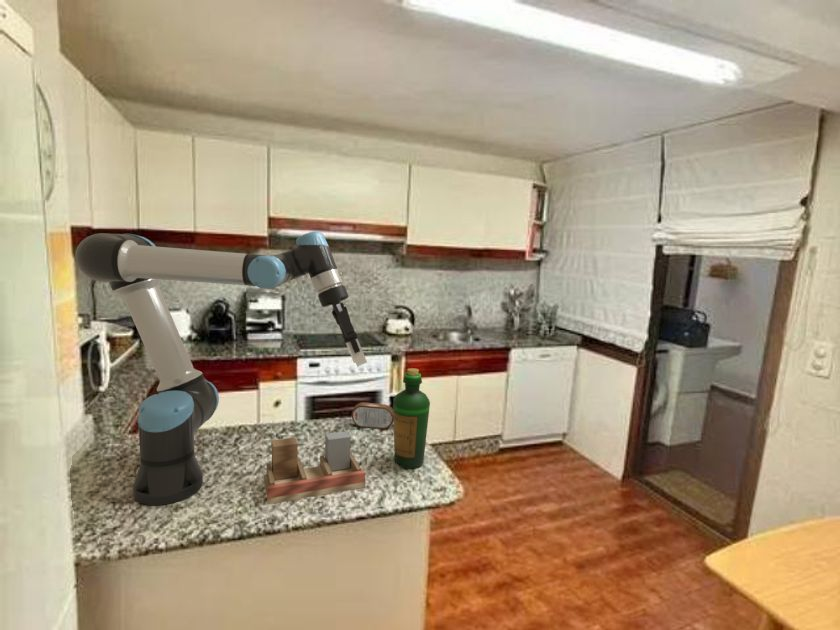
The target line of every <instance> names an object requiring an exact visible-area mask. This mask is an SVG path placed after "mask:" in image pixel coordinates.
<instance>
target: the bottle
mask: <svg viewBox="0 0 840 630" xmlns="http://www.w3.org/2000/svg"><path fill="white" fill-rule="evenodd" d="M419 371H420V369H418V368H413V367H411V368H407V372H405V373H404V375H403V379H402V382H403V384H404V389H403V390H402V391H400V392H399V393H397V394H396V395H395V397H394V398H393V403H392V404H393V410H394V422H393V446H394V449H393V450H394V452H393V455H394V456H393V457H394V464H396V465H397V466H398V467H400V468H403V469H415V468H418V467H421V466H422V465H423V463H424V460H425V450H426V443H427V442H426V441H427V433H428V424H429V416H430V405H431V400H430V399H429V397H428V395H427V394H426V393H424V392H423V391H422V390H420V387H421V384H423V380H422V374H421V373H419Z"/></svg>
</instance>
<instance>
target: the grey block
mask: <svg viewBox="0 0 840 630" xmlns="http://www.w3.org/2000/svg"><path fill="white" fill-rule="evenodd" d="M324 437H325V439H324V457H325V459H326V461H327V463H328V465H329V467H330V470H331V471H335V470H341V469H347V468H350V452H351V443H352V442H351V441H352V439H351V438H352V437H351V435H350V433H349V432H348V431H347V430H345V431H339V432H338V431H337V432H331V433H330V432H329V433H325V436H324Z"/></svg>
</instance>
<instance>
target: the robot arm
mask: <svg viewBox="0 0 840 630" xmlns="http://www.w3.org/2000/svg"><path fill="white" fill-rule="evenodd" d="M295 242H296V246H295V247H294V248H292V249H289V250H286V251H283V252H281V253H278V254H273V255H272V254H271V255H270V254H267V255H266V254H258V253H257V254H254V253H242V252H230V251H229V252H228V251H217V250H216V251H215V250H204V249H203V250H202V249H192V248H189V249H188V248H180V247H165V246H156V245H155V243H154V242H152V241H151V240H150V239H148V238H146V237H144V236H141V235H137V234H132V233H121V234H120V233H109V232H107V233H105V232H104V233H103V232H101V233H99V232H98V233H95V234H92V235H89V236H86V237H85V238H84V239H83V240H82V241H80V242H79V244H78V246H77V248H76V250H75V256H74V257H75V263H76V265H77V267H78V269H79V270H80V271H81V273H83V275H85V276H86V277H88V278H89V279H90V280H94V281H96V282H100V283H109V285H110V288H111V290H112V292H113V294H116V295H119V296H121V297H122V298H123V300H124V304H126V308H127V309H128V312H129V314H130V316H131V319H132V320H133V323H134V325H135V327H136V330H137V332H138V334H139V336H140V339H141V342H142V344H143V346H144V348H145V350H146V352H147V355H148V357H149V359H150V361H151V364H152V366H153V369H154V370H155V373H156V375H157V378H158V380H159V384H158V386H157V388H156V392H157V393H155V394H152V395H150V396H148V397H146V398H145V399H144V400H143V401H142V402H141V403H140V405H139V407H138V415H137V424H138V438H139V439H138V440H139V441H138V442H139V456H140V457H139V459H140V465H139V468H138V471H137V474H136V477H135V480H134V482H133V487H132V494H133V499H134V501H136V502H137V503H139V504H141V505H147V506H160V505H169V504H172V503H177V502H180V501H182V500H186V499H187V498H190V497H192V496H193V495H195V494H196V493H197V492H198V491H200V490H201V488H202V487H203V484H204V479H203V476H204V475H203V471H202V469H201V467H200V464H199V462H198V459H197V458H196V455H195V433H196V432H197V431H199V429H200V428H201V427H202V426H203V425H204V424H205V423H206V422H208V421H209V420H210V419H211V418H212V417H213V415H214V413H216V410H217V408H218V407H219V402H220V395H219V392H218V389H217V388H216V386H215V385H214V383H212V381H211V382H210V381H208V380H207V379H206V378H205V376H204V374H203V372H202V371H200V370H198V369H196V368H194V365H193V362H192V361H191V358H190V356H189V354H188V352H187V349H186V347H185V345H184V342H183V339H182V338H181V335H180V333H179V331H178V328H177V326H176V323H175V321H174V319H173V317H172V314H171V312H170V309H169V307H168V305H167V302H166V300H165V298H164V296H163V292H162V290H161V288H160V284H161V282H162V280H164V281H180V282H192V283H193V282H194V283H206V284H208V283H210V284H220V285H221V284H222V285H236V286H239V285H240V286H248V287H249V286H250V287H258V288H260V289H265V290H267V289H274V288H277V287H279V286H281V285H283V284H286V283H288V282H291V281H294V280H296V279H298V278H300V277H302V276H306V275H307V274H308V275H309V277H310V280H311V283H312V285H313V288H314V291H315V292H316V293H318V295H317V297H318V299H319V302H320V304H321V307H323V308H326V307H329V306H331V307H332V312H331V314H332V316H333V318H334V320H335V322H336V324H337V325H338V326H339V329H340V331H341V334H342V338H343V342H344V344H345V345H346V347H347V350H348V352H349V354H350V357H351V360H352V362H353V364H355V365H356V367H359V366H361V365H364V364H367V363H368V361H367V359H366V356H365V353H364V351H363V349H362V346H361V344H360V341H359V339H358V336H357V332H356V331H355V328H354V326H353V324H352V321H351V317H350V315H349V311H348V308H347V306H345V304H344V302H342V301H345V300H347V299H348V298H349V293H348V292H347V289H346V286H345V285H343V280H342V277H341V276H342V275H343V273H342V271H339V269H338V267H337V264H336V261H335V258H334V257H333V256H334V255H333V254H332V251H331V249H330V246H329V244H328V242H327V240H326V237H325V235H324V233H322V232H321V231H319V230H316V231H315V230H314V231H310V232H307V233H304V234H302V235H301V236H298V237H297V238H296V240H295Z"/></svg>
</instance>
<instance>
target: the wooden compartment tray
mask: <svg viewBox="0 0 840 630" xmlns="http://www.w3.org/2000/svg"><path fill="white" fill-rule="evenodd" d="M301 460H302V459H300V458H298V461H297V476H296V477H290V478H284V479H277V480H274V477H273V472H272V463H271V462H267V463H266V464H265V465H266V467H265V468H266V471H265V472H266V473H265V474H263V485H264V489H265V494H266V500H267V505H272V504H279V503H284V502H290V501H296V500H301V499H307V498H311V497H318V496H323V495H328V494H335V493H340V492H341V493H342V492H345V491H350V490H351V491H352V490H358V489H363V488H366V472H365V470H364V469H362V467H361V466H360V464H359V463H358V461H357V459H356V457H355V456H354V455H353V452H351V451H350V468H347V469H341V470H335V471H331V470H330V467H329V465H328V463H327V461H326V459H325V454H323V455H320V456H319V466H318V465H317V466H313V467H308V468H307V467H306V468H304V466H303V464H302V461H301Z"/></svg>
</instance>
